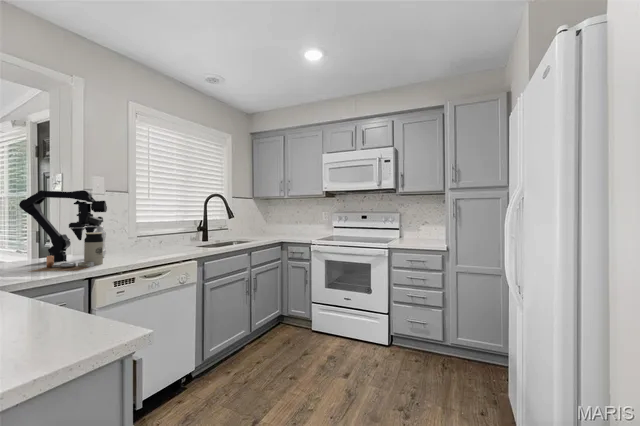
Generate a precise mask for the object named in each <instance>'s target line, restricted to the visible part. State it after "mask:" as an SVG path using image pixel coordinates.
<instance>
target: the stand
mask: <svg viewBox="0 0 640 426" xmlns="http://www.w3.org/2000/svg"><path fill="white" fill-rule="evenodd" d="M92 267H95V265H94V262H84V261H79V262H77V265H76V267H70V268H60V267H49V268H47V267H46V266H44V267H41V268H36V269H33V270H29V271H27V273H28V272H30V273H31V272H39V273H41V272H43V273H44V272H79V271H82V270H86V269H89V268H92Z"/></svg>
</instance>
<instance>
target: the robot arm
mask: <svg viewBox="0 0 640 426" xmlns="http://www.w3.org/2000/svg"><path fill="white" fill-rule="evenodd" d="M48 198H49V199H50V198H51V199H56V198H57V199H72V200H76V201H75V202H74V203H73V205H77V208H78V209H77V211H78V213H77V214H76V217H78V220H77V221H76V222H69V224H68V228H69V229H70V230H71V231H72V232H73V233H74V235H75V237H76V238H77V240H78V241H82V240H83V239H82V238H83V231H84V230H85V233H91V232H95V231H96V230H97V229H96V228H98V227H96V226H102V223H104V218H103V217H102V216H98V217H96V216H94V214H93V213H107V211H108V206H107V201H106V200H96V199H94V197H93V195H92V193H91V191H87V190H73V191H58V190H57V191H54V190H51V191H50V190H39V191H37V192H36V193H34V194H33V195H30V196H29V197H27V198H25V199H22V200H20V202H19V203H18V205H19V208H20V209H21V210H23V211H24V212H25V213H26V214H28V215H30V216H31V217H32V218H33V219H34V220H35V222H37V224H38V225H39V226H40V227H41V229H42V230H43V231H44V232H45V233H46V235H48V237H49V238H50V242H51V244H52V246H51V247H49V248H48V249H47V251H48V253H49V255H48V256H54V263H59V262H60V263H61V262H63V263H64V262H67V254H66V253H67V249H68V248H69V247H71V239H70V238H69V237H68V235H67V234H62V233H60V232H59V231H58V230H57V228H56V227H55V226H54V225H53V224H52V222H51V221H50V220H49V219H48V218H47V216H46V215H45V214H44V213H43V211H42V208H41V207H42V206H40V204H42V203H43V202H44V201H45V200H46V199H48ZM92 211H93V213H92Z"/></svg>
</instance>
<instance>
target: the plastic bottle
mask: <svg viewBox="0 0 640 426" xmlns="http://www.w3.org/2000/svg"><path fill="white" fill-rule="evenodd" d="M96 227H98V228H96V229H95V230H94V232H102V238H103V258H104V257H106V254H107V251H106V250H107V249H106V244H105V243H106V236H107V234H106V232H105V230H104V225H100V226H96Z"/></svg>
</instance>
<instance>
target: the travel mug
mask: <svg viewBox="0 0 640 426" xmlns="http://www.w3.org/2000/svg"><path fill="white" fill-rule="evenodd" d="M83 241H84V247H83V250H84V251H83V253H84V255H83V262H94V266H101V265H103V263H104V257H103V238H102V232H95V231H94V232H91V233H87V232H85V238H84V240H83Z"/></svg>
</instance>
